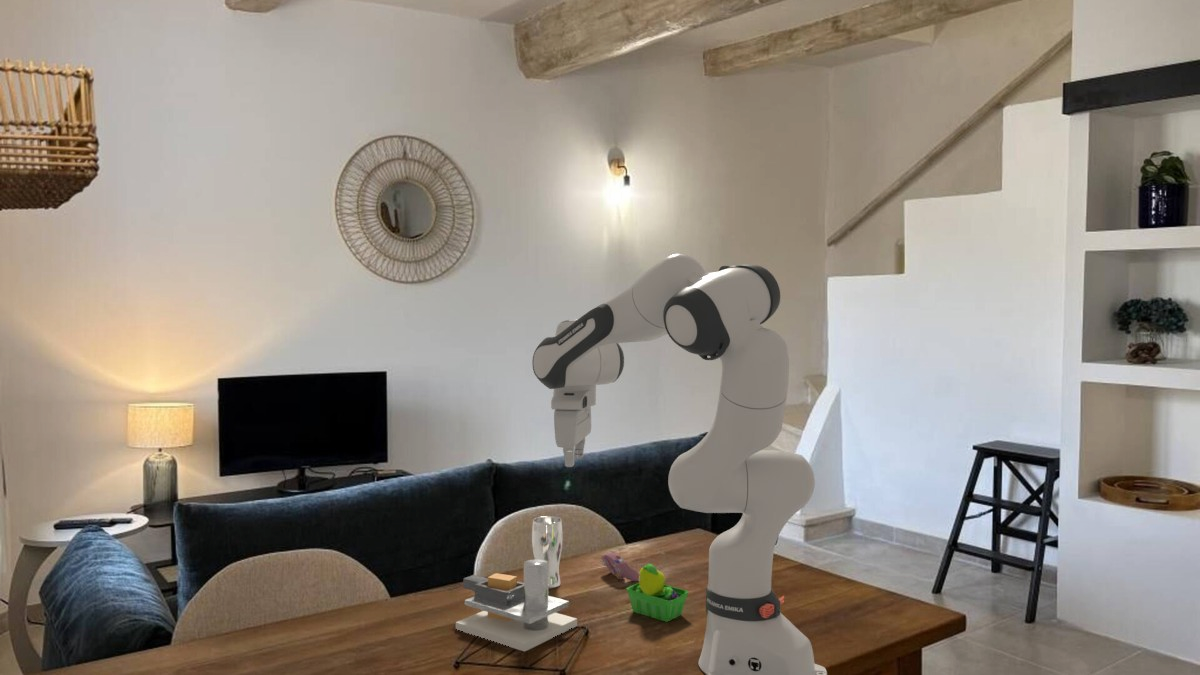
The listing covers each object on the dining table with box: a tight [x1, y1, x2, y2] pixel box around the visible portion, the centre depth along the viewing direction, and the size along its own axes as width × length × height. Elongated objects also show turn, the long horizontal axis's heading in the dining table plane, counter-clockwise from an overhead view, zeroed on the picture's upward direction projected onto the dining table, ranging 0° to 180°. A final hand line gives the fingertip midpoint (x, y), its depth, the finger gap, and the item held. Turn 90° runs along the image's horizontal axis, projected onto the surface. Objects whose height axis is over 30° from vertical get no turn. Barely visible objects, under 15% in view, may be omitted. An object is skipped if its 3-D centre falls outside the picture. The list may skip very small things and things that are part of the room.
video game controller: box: [601, 551, 640, 582], centre depth 211 cm, size 10×5×7 cm, turn 26°
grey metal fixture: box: [462, 559, 570, 631], centre depth 180 cm, size 22×12×12 cm, turn 54°
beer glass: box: [531, 515, 564, 590], centre depth 205 cm, size 7×7×15 cm
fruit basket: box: [626, 563, 689, 623], centre depth 186 cm, size 11×9×11 cm
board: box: [455, 610, 578, 652], centre depth 179 cm, size 18×16×2 cm
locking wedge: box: [487, 572, 518, 620], centre depth 181 cm, size 5×3×8 cm, turn 65°
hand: (574, 461), depth 189 cm, fingers open, 8 cm apart
